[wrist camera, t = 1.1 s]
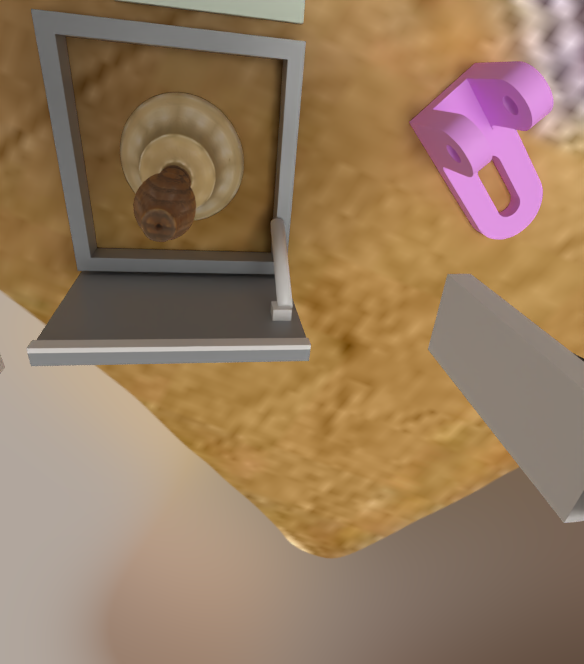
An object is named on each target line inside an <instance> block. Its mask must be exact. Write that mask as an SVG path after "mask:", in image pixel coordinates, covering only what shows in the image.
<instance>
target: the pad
mask: <svg viewBox="0 0 584 664" xmlns="http://www.w3.org/2000/svg"><path fill="white" fill-rule="evenodd" d="M115 1H121V2H129V3H137V4H145V5H153V6H161V7H169V8H177V9H185V10H192V11H200V12H208V13H216V14H224V15H232V16H240V17H248V18H256V19H264V20H272V21H280V22H288V23H296V24H303V20H304V8H305V0H115Z"/></svg>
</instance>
